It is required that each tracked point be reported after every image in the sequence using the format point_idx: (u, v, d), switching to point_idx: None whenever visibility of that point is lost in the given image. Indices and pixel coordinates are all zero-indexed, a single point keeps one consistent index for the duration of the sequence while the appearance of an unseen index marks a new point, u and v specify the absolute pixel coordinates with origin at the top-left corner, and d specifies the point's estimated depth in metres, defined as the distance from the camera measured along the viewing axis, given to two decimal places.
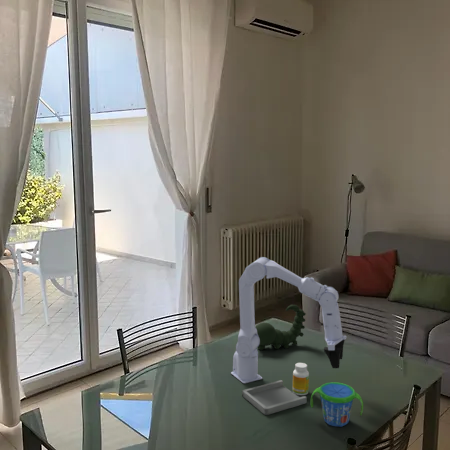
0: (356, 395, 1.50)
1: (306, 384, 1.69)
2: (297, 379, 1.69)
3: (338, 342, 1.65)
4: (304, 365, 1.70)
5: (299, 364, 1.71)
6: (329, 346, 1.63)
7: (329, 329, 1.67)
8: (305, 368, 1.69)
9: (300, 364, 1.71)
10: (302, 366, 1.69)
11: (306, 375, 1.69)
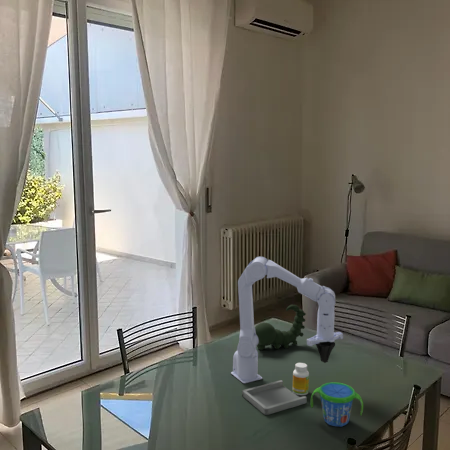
0: (356, 395, 1.50)
1: (306, 384, 1.69)
2: (297, 379, 1.69)
3: (320, 341, 1.71)
4: (304, 365, 1.70)
5: (299, 364, 1.71)
6: (307, 341, 1.71)
7: (317, 327, 1.73)
8: (305, 368, 1.69)
9: (300, 364, 1.71)
10: (302, 366, 1.69)
11: (306, 375, 1.69)
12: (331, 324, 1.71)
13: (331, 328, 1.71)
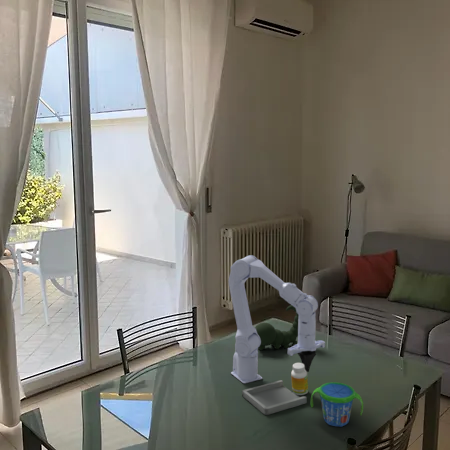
0: (356, 395, 1.50)
1: (305, 384, 1.69)
2: (296, 380, 1.68)
3: (301, 350, 1.67)
4: (301, 366, 1.69)
5: (296, 365, 1.70)
6: (288, 350, 1.67)
7: (298, 336, 1.69)
8: (302, 368, 1.68)
9: (297, 364, 1.70)
10: (299, 367, 1.68)
11: (304, 375, 1.68)
12: (310, 333, 1.67)
13: (312, 337, 1.67)
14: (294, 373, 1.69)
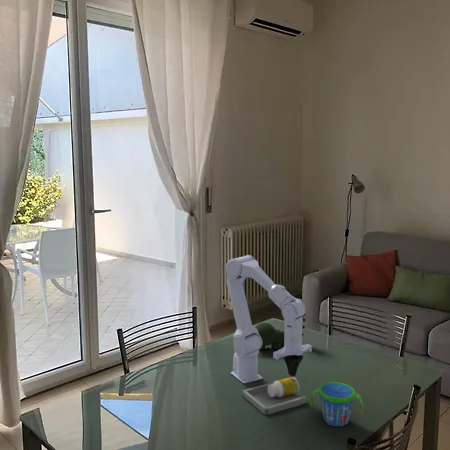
0: (356, 395, 1.50)
1: (290, 388, 1.66)
2: (283, 396, 1.67)
3: (287, 355, 1.64)
4: (272, 390, 1.65)
5: (269, 391, 1.66)
6: (274, 354, 1.65)
7: (285, 339, 1.66)
8: (275, 392, 1.64)
9: (269, 390, 1.66)
10: (272, 393, 1.65)
11: (282, 391, 1.65)
12: (294, 337, 1.64)
13: (298, 341, 1.65)
14: (276, 395, 1.67)
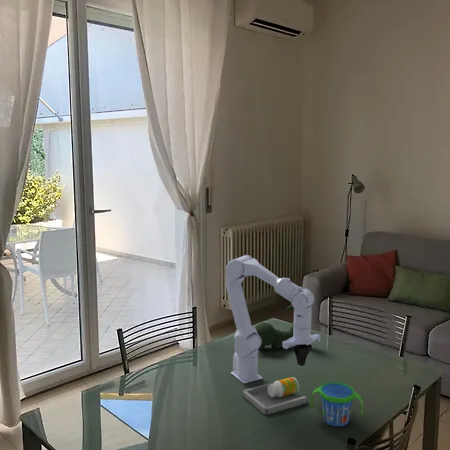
0: (356, 395, 1.50)
1: (290, 389, 1.66)
2: (283, 396, 1.67)
3: (296, 344, 1.66)
4: (272, 390, 1.65)
5: (269, 391, 1.66)
6: (283, 343, 1.66)
7: (294, 329, 1.68)
8: (275, 392, 1.64)
9: (269, 390, 1.66)
10: (272, 393, 1.65)
11: (282, 391, 1.65)
12: (305, 326, 1.65)
13: (307, 330, 1.66)
14: (276, 395, 1.67)
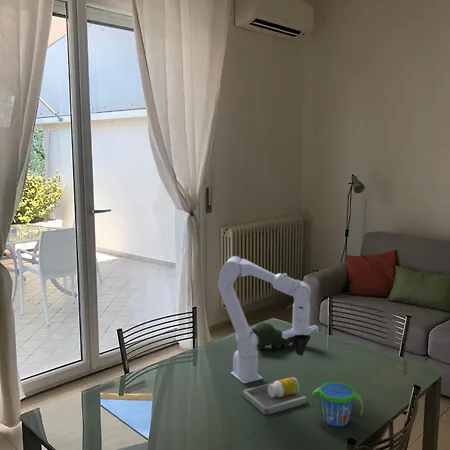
0: (356, 395, 1.50)
1: (290, 389, 1.66)
2: (283, 396, 1.67)
3: (295, 334, 1.73)
4: (272, 390, 1.65)
5: (269, 391, 1.66)
6: (282, 334, 1.73)
7: (293, 320, 1.75)
8: (275, 392, 1.64)
9: (269, 390, 1.66)
10: (272, 393, 1.65)
11: (282, 391, 1.65)
12: (306, 317, 1.73)
13: (306, 321, 1.73)
14: (276, 395, 1.67)
